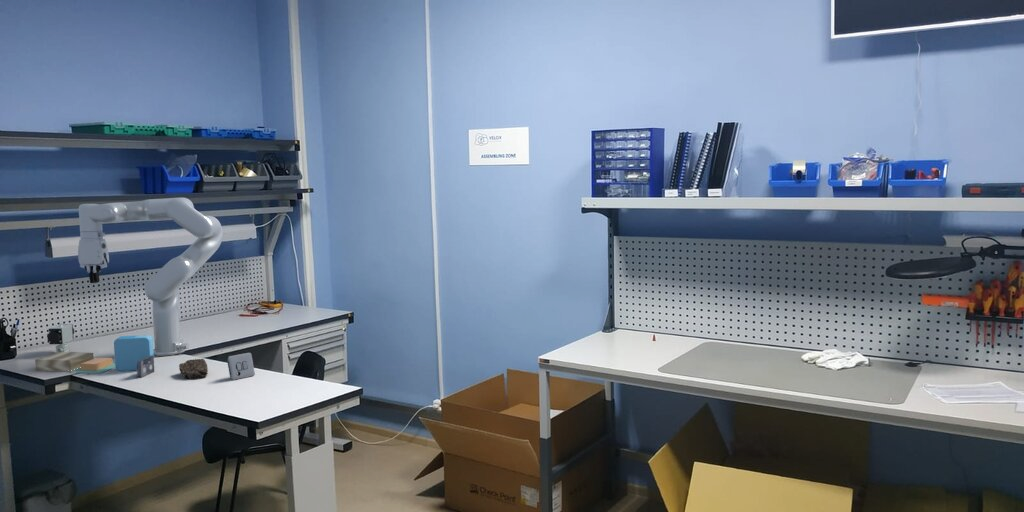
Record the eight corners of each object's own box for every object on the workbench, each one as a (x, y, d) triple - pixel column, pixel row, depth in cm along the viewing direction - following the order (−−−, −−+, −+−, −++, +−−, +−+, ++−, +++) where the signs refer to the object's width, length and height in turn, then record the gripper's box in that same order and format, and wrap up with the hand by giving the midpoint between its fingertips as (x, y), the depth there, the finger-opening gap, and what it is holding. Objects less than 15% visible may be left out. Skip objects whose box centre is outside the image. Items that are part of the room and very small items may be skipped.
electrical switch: (232, 380, 251) (230, 356, 251) (226, 379, 255) (224, 356, 254) (255, 376, 258) (253, 352, 257) (249, 375, 261) (247, 351, 260)
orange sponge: (97, 357, 274) (97, 363, 274) (80, 363, 265) (80, 370, 265) (112, 358, 273) (112, 364, 273) (95, 364, 264) (96, 370, 264)
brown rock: (181, 372, 263) (180, 358, 262) (211, 370, 265) (211, 357, 265) (175, 381, 252) (174, 366, 251) (206, 379, 254) (206, 364, 254)
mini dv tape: (150, 371, 264) (149, 355, 263) (154, 371, 264) (153, 355, 263) (137, 378, 256) (136, 361, 255) (141, 378, 255) (140, 361, 255)
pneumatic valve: (76, 349, 298) (74, 320, 297) (60, 356, 287) (58, 326, 285) (62, 350, 298) (60, 321, 297) (46, 357, 286) (43, 326, 285)
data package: (154, 366, 271) (152, 334, 270) (150, 369, 266) (149, 337, 265) (119, 368, 269) (117, 336, 267) (115, 371, 264) (113, 338, 263)
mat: (127, 363, 276) (126, 362, 276) (99, 373, 261) (99, 372, 261) (97, 362, 278) (97, 361, 278) (69, 372, 263) (69, 371, 263)
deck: (93, 363, 276) (93, 352, 276) (70, 371, 264) (70, 360, 264) (60, 362, 278) (59, 351, 278) (35, 370, 266) (35, 359, 266)
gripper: (115, 235, 286) (118, 281, 288) (80, 234, 288) (83, 281, 290) (102, 236, 278) (105, 284, 280) (66, 236, 280) (70, 283, 282)
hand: (94, 282), depth 285 cm, fingers closed
